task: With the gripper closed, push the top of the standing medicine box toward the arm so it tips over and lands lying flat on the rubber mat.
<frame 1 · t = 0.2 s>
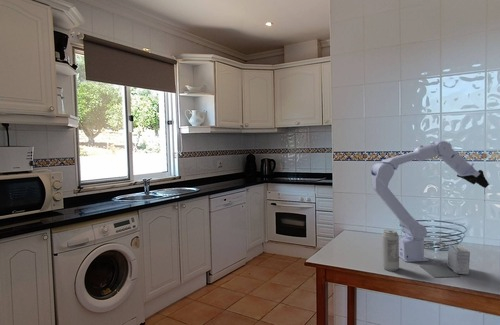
hand: (481, 184, 134), 31 cm above the table, tool tilted 45°, fingers open, 7 cm apart
medicine box: (457, 270, 123), on the table, touching mat
mat: (438, 271, 123), on the table
energy drink can: (390, 269, 127), on the table
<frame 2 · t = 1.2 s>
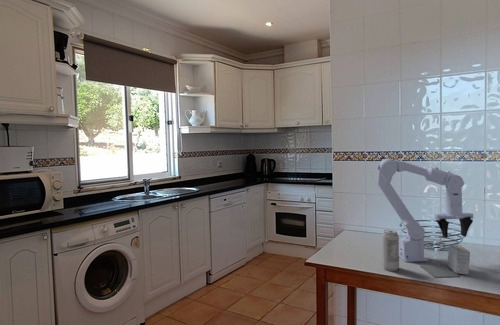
hand: (454, 236, 132), 10 cm above the table, tool pointing down, fingers open, 7 cm apart
nothing on the table moved.
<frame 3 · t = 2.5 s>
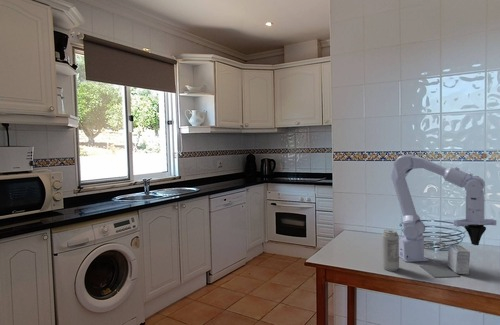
hand: (475, 244, 122), 10 cm above the table, tool pointing down, fingers closed
nothing on the table moved.
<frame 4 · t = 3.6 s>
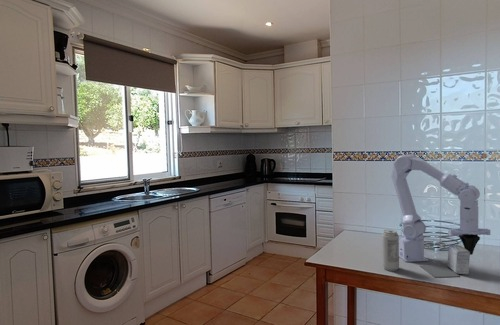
hand: (469, 253, 122), 6 cm above the table, tool pointing down, fingers closed
medicine box: (457, 270, 123), on the table, touching gripper, mat
everything else where it was.
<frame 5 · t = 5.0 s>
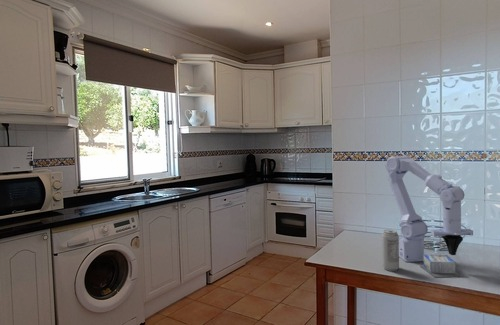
hand: (452, 254, 122), 6 cm above the table, tool pointing down, fingers closed
medicine box: (452, 264, 123), point 2 cm above the table, touching mat
everything else where it was.
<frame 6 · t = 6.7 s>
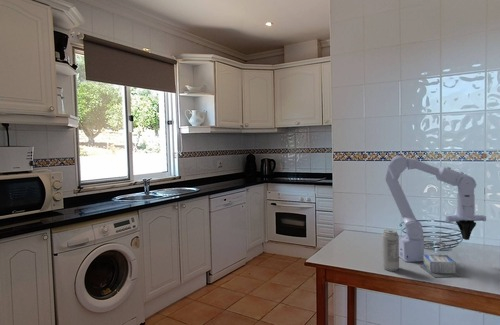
hand: (465, 239, 129), 10 cm above the table, tool pointing down, fingers closed
nothing on the table moved.
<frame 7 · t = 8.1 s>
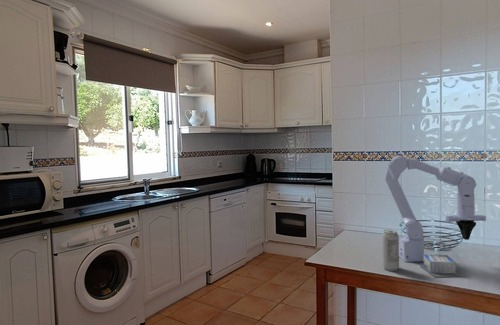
hand: (465, 238, 129), 10 cm above the table, tool pointing down, fingers closed
nothing on the table moved.
at the end: medicine box tilted 90°; medicine box inside the target area (5.7 cm from its centre), point 2.5 cm above the table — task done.
